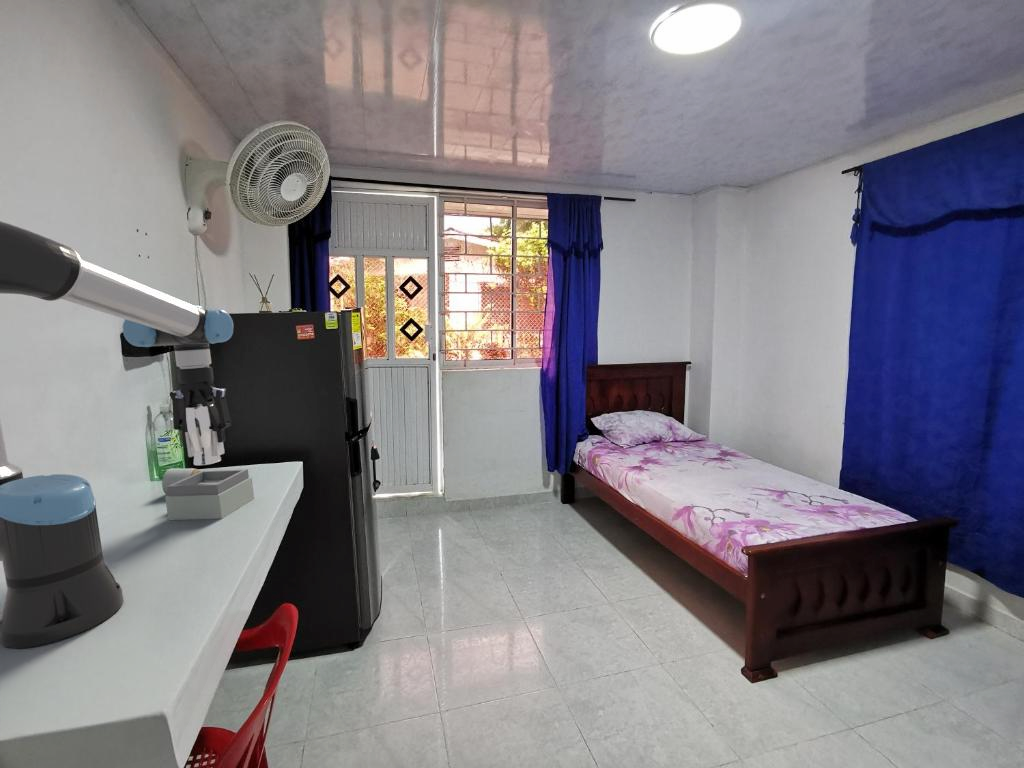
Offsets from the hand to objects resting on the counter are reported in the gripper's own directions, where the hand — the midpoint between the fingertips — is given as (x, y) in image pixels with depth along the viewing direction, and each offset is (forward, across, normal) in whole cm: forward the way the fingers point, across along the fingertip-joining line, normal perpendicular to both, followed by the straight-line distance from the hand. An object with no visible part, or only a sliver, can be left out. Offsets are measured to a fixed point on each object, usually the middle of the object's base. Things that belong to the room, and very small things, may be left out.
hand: (206, 454), depth 129 cm
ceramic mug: (+15, +18, -14) cm, 28 cm away
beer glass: (+2, 0, 0) cm, 2 cm away
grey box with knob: (+14, +2, 0) cm, 15 cm away
